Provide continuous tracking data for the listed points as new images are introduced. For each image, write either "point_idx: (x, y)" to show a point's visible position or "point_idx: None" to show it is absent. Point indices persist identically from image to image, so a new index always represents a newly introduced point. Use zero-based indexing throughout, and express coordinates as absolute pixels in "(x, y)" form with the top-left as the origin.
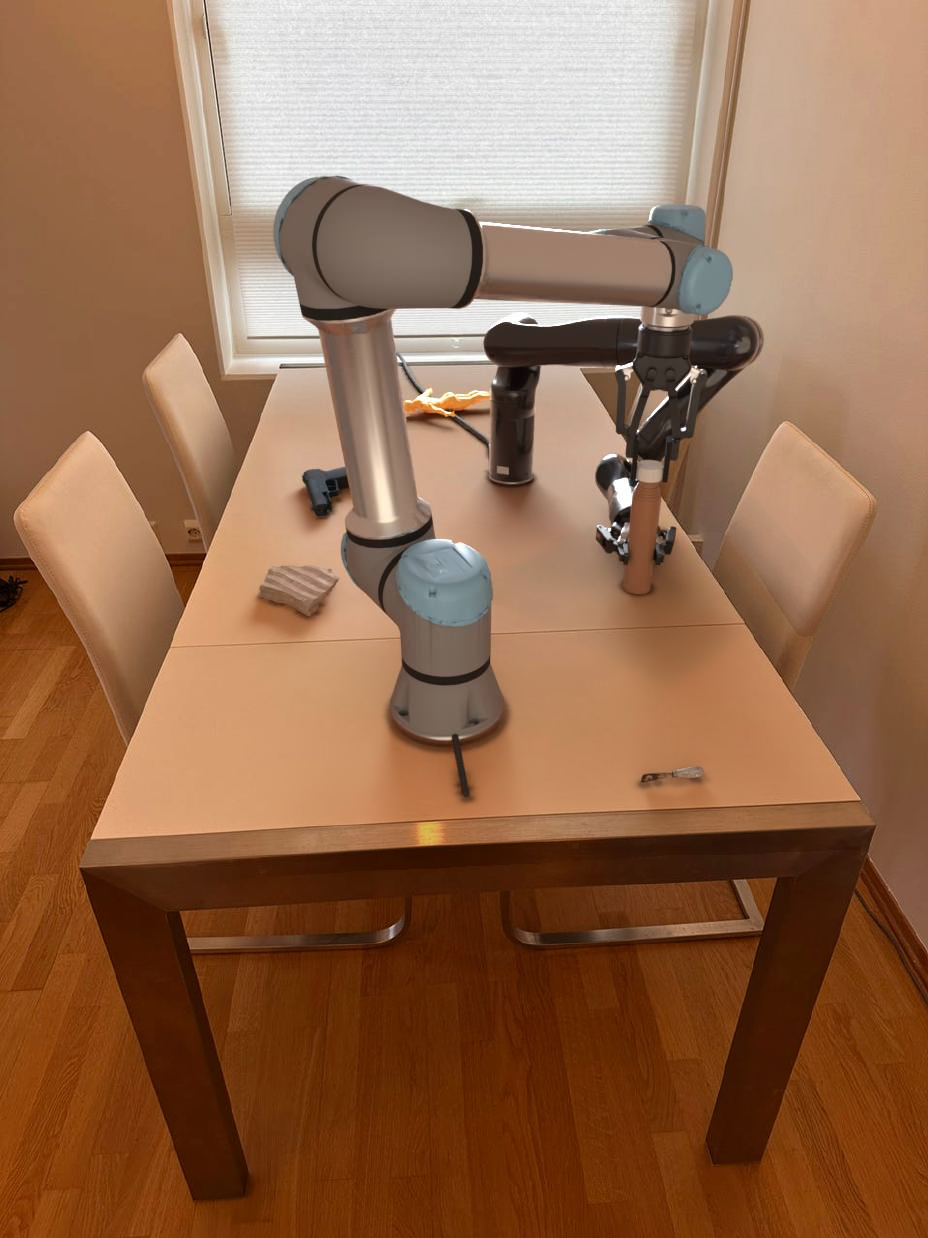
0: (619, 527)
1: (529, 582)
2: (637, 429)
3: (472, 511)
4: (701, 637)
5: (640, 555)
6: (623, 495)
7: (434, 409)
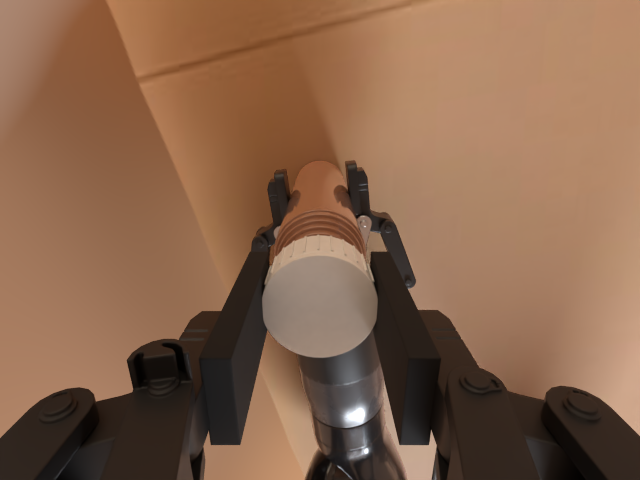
0: None
1: (514, 170)
2: (454, 421)
3: (594, 394)
4: (194, 14)
5: (320, 174)
6: (362, 389)
7: None
